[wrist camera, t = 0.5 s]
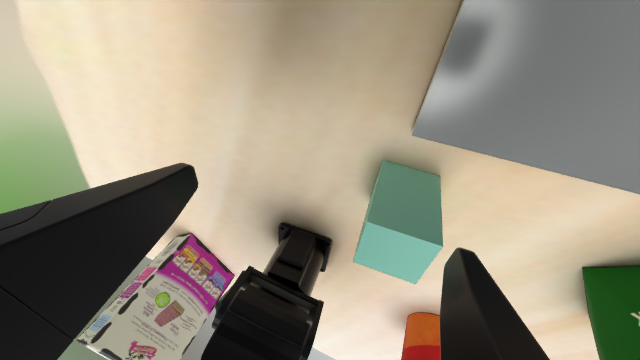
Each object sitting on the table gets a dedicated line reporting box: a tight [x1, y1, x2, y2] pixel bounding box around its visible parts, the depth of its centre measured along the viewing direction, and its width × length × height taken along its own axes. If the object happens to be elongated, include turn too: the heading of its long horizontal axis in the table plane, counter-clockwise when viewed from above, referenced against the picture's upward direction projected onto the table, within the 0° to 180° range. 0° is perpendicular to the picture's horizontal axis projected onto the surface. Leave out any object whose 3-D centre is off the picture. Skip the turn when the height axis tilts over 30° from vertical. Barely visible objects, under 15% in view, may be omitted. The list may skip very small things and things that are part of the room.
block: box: [353, 160, 443, 284], centre depth 19 cm, size 4×4×7 cm
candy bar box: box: [77, 234, 234, 360], centre depth 37 cm, size 11×5×16 cm, turn 31°
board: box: [412, 0, 640, 194], centre depth 12 cm, size 13×16×1 cm
